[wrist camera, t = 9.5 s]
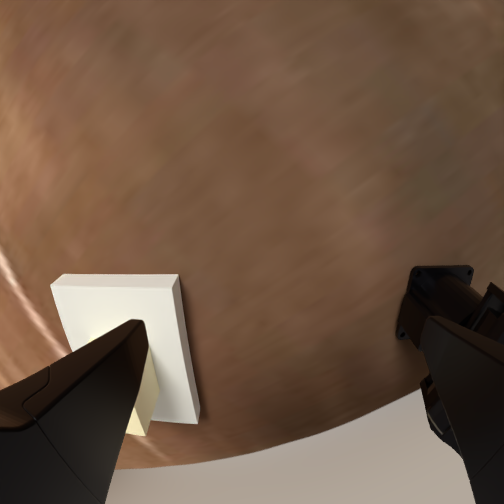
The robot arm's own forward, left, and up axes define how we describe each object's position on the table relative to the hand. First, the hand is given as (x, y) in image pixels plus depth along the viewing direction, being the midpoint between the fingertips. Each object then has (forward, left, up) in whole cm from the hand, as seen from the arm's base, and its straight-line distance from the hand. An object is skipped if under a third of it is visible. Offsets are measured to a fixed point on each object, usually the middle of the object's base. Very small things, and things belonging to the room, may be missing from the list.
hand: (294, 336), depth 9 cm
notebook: (+11, +11, -12) cm, 20 cm away
